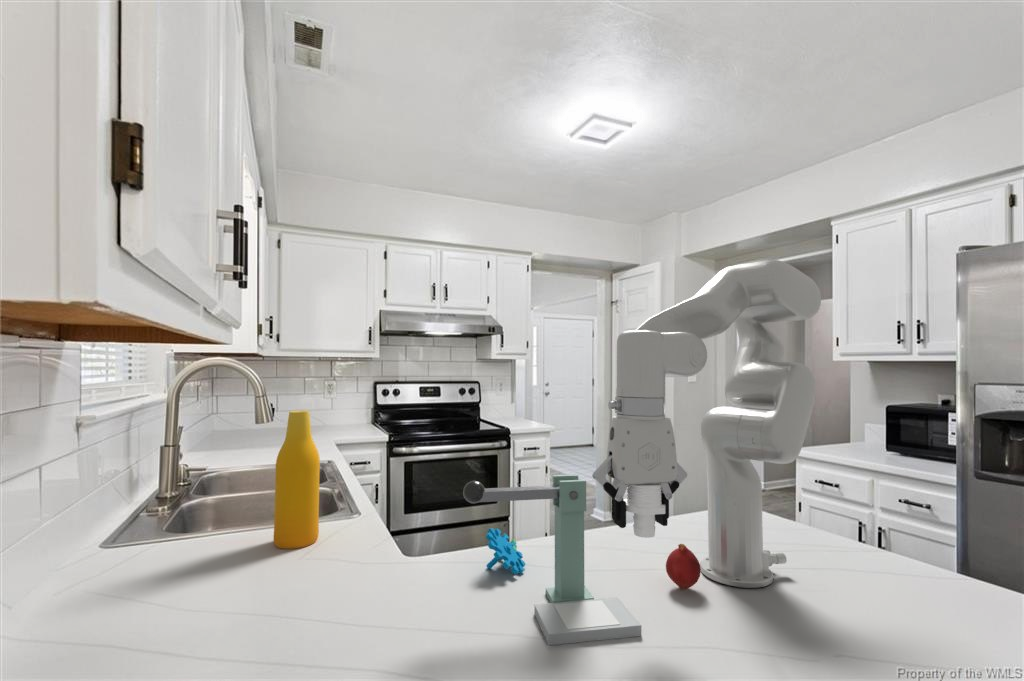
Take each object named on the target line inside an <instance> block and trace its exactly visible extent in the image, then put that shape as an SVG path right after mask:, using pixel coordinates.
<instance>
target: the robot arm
mask: <svg viewBox="0 0 1024 681" xmlns="http://www.w3.org/2000/svg"><path fill="white" fill-rule="evenodd" d="M821 305H822V296H821V291H820V288H819V287H818V285H817V283H816V282H815V281H814V280H813V279H812V278H811V277H810V276H808V274H807V275H806V274H805V273H804V272H802V271H801V270H799V269H797V267H795V266H794V265H793V266H792V265H791V264H790V263H788V262H785V261H782V260H778V259H765V260H759V261H753V262H747V263H741V264H740V263H739V264H735V265H734V264H733V265H731V266H727V267H725V268H723V269H721V270H720V271H718V273H717V274H716V273H715V275H714V276H713V277H712V278H711V279H710V280H709V281H708V282H707V283H706V284H704V286H702V287H701V289H699V291H697V293H695V295H693V296H692V297H690V298H688V299H686V300H683V301H682V302H681V301H680V303H677V304H676V305H673V306H671V307H670V308H669V307H668V308H667V309H665V310H663V311H661V312H659V313H657V314H654V315H653V316H652V317H651V316H650V317H649V318H648V319H646V320H645V321H643V322H642V324H640V325H639V326H638V327H637V328H635V330H626V331H623V332H621V333H620V334H619V335H618V336H617V340H616V396H615V397H614V400H609V402H608V405H607V406H608V410H613V411H615V414H616V416H612V419H611V423H610V427H609V433H608V441H607V451H606V459H605V460H604V461H603V462H602V463H601V464H600V465H599V466H598V467H597V469H595V470H594V472H593V473H592V476H591V477H592V479H594V480H595V481H596V483H597V484H598V485H599V486H600V487H601V488H602V489H603V491H605V492H606V493H607V495H608V496H609V497H610V498H611V520H612V521H613V523H614V524H615V525H617V526H618V527H619V528H620V529H625V528H626V527H627V511H626V502H625V501H624V496H625V494H626V492H627V488H628V487H627V486H628V484H661V502H662V504H663V505H665V514H655V523H658V524H659V525H661V526H663V527H667V526H668V519H669V518H670V500H671V499H673V494H674V493H676V491H677V490H678V488H680V485H681V484H682V483H683V481H685V479H686V478H687V477H688V472H687V471H686V470H685V469H684V467H682V466H681V465H680V463H678V462H677V459H678V458H677V449H676V438H675V434H674V433H675V432H674V427H673V423H672V420H671V418H670V417H666V378H688V377H692V376H696V375H697V374H698V373H700V372H701V371H702V370H703V369H704V367H705V365H706V364H707V360H708V350H707V346H706V344H705V342H704V340H707V339H709V338H712V337H715V336H719V335H720V334H723V333H724V332H725V331H727V330H728V329H729V328H730V327H731V325H732V324H733V323H734V325H735V329H736V332H737V335H738V348H737V351H736V354H735V356H734V359H733V362H732V365H731V367H730V370H729V372H728V375H727V378H726V381H725V385H724V396H725V398H726V400H727V402H728V403H730V404H731V405H733V406H727V405H726V406H717V407H713V408H711V409H709V410H708V411H707V412H706V413H705V414H704V415H703V417H702V418H701V419H702V420H701V422H700V436H701V441H702V446H703V450H704V455H705V462H706V476H707V477H706V478H707V479H706V480H707V481H706V482H707V488H706V490H707V537H708V538H707V539H708V548H707V549H708V557H705V558H703V559H702V560H700V561H699V564H700V568H701V572H700V573H702V574H703V575H704V576H705V577H707V578H709V580H713V581H715V582H717V583H720V584H723V585H726V586H730V587H731V586H732V587H736V588H743V589H745V588H746V589H758V588H764V587H768V586H769V585H771V584H772V583H773V582H774V575H773V574H774V573H773V571H772V570H771V569H770V568H769V567H772V565H783V564H787V556H786V554H785V553H784V552H773V553H771V551H770V550H769V549H764V538H763V537H764V536H763V535H764V533H763V532H764V531H763V488H762V481H761V477H760V476H759V473H758V471H757V468H755V466H754V465H753V464H754V463H752V461H758V462H764V463H770V464H771V463H772V464H780V465H786V464H790V463H791V464H792V463H793V462H795V460H796V459H797V458H798V457H799V455H800V453H801V450H802V448H803V445H804V442H805V438H806V435H807V431H808V427H809V423H810V420H811V417H812V413H813V410H814V405H815V400H816V394H817V393H816V392H817V387H816V386H817V384H816V379H815V376H814V374H813V372H812V371H811V369H810V368H809V367H808V366H806V365H804V364H803V363H801V362H800V363H799V362H794V361H782V360H783V358H784V354H785V353H784V352H785V351H784V350H785V349H784V345H783V344H782V341H780V339H779V338H778V336H777V335H776V334H775V333H774V332H773V331H772V330H771V329H770V328H769V327H768V325H767V323H780V322H781V323H782V322H795V321H799V322H800V321H806V320H809V319H811V318H813V317H815V316H816V314H817V313H819V311H820V309H821ZM607 475H608V477H610V478H611V479H613V480H612V482H611V483H610V482H609V480H608V479H607V478H606V477H607Z"/></svg>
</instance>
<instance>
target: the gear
mask: <svg viewBox="0 0 1024 681" xmlns="http://www.w3.org/2000/svg"><path fill="white" fill-rule="evenodd" d="M501 534H502V531H501V530H500V529H499V528H495V529H494V528H493V527H491V528H489V529H488V530H487V534H486V535H485V539H487V541H488V542H487V546H488V549H490V550H493V551H494V553H493V558H492V559H491V560H490V561H489V562H488V563H486V568H487V569H488V570H490V569H492V568H493V567H494V566H495V565H496V564H497V563H498V562H501V561H503V562H502V563H501V565H502V566H503V567H504V568H503V569H505V570H508V569H509V568H510V567H511V568H510V571H511V573H513V574H514V575H517V574H522V573H524V571H525V569H524V567H526V562H525V561H524V560H522V559H523V553H522V552H521V551H519V550H517V547H518V546H517V543H518V542H517V541H516V539H514V538H513V539H512V540H511V541H508V540H509V539H510V537H509V536H508V534H507V533H506V532H505V533H503V534H502V535H501Z"/></svg>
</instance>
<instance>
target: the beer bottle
mask: <svg viewBox="0 0 1024 681" xmlns="http://www.w3.org/2000/svg"><path fill="white" fill-rule="evenodd" d="M286 426H287V427H286V434H285V437H284V438H285V439H284V441H283V444H282V445H281V447H280V449H279V451H278V454H277V458H276V462H275V479H274V480H275V483H274V484H275V485H274V486H275V489H274V519H273V520H274V521H273V522H274V523H273V526H274V527H273V543H274V545H275V547H277V548H279V549H283V550H293V549H295V550H296V549H300V548H305V547H309V546H310V545H313V544H314V543H316V542H317V540H318V539H319V532H320V531H319V530H320V529H319V526H320V524H319V523H320V521H319V519H320V518H319V517H320V516H319V515H320V514H319V512H320V509H319V508H320V472H321V470H320V468H321V466H320V465H321V459H320V454H319V451H318V448H317V446H316V444H315V443H314V442H315V441H314V439H313V437H312V428H311V427H312V425H311V417H310V411H309V410H291V411H289V413H288V418H287V425H286Z"/></svg>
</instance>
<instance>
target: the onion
mask: <svg viewBox="0 0 1024 681" xmlns="http://www.w3.org/2000/svg"><path fill="white" fill-rule="evenodd" d="M677 546H678V547H677V548H675V549H674V550H672V551H671V552H670V553H669V555H668V556H667V559H666V563H665V571H666V574H667V576H668V578H669V579H670V580H671V581H672V582H673V583H674V584H675V585H676V586H677V587H678V588H679V589H680V590H682V591H685V590H688V589H690V588H692V587H693V586H694V585H695V584H697V583H698V581H699V579H700V576H701V573H702V572H701V568H700V561H699V560H698V557H696V555H695V554H694V552H692V550H690V549H688V547H687V546H686V545H685V544H684V543H679V544H677Z"/></svg>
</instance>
